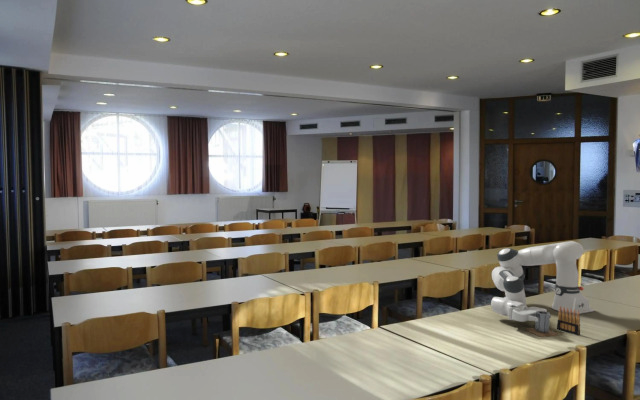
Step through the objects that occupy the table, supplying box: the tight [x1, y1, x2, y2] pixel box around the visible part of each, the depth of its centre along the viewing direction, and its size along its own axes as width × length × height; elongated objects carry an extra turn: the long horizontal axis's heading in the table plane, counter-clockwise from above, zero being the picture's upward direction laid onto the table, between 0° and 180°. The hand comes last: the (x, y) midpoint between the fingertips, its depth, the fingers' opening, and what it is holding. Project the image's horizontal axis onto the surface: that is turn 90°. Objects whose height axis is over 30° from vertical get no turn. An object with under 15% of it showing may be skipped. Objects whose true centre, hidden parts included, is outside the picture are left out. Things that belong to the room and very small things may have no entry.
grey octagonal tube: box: [534, 311, 551, 333], centre depth 242 cm, size 6×6×9 cm
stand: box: [525, 327, 559, 338], centre depth 242 cm, size 10×10×9 cm
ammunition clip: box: [556, 306, 581, 336], centre depth 244 cm, size 11×2×12 cm, turn 36°
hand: (544, 318), depth 241 cm, fingers open, 8 cm apart
